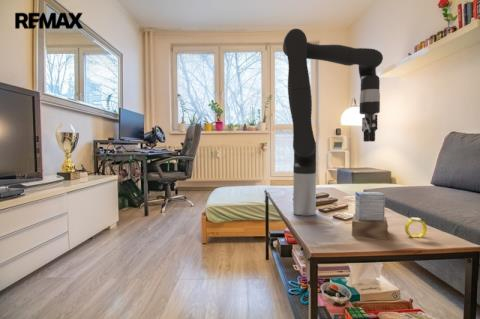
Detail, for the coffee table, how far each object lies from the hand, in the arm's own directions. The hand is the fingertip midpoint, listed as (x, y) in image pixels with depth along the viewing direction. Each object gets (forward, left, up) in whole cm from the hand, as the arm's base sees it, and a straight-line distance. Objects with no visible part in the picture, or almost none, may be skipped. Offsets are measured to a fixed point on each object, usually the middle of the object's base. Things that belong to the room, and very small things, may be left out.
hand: (369, 141), depth 112 cm
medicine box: (-6, -26, -26) cm, 37 cm away
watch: (+7, -28, -30) cm, 42 cm away
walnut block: (-6, -26, -31) cm, 41 cm away
